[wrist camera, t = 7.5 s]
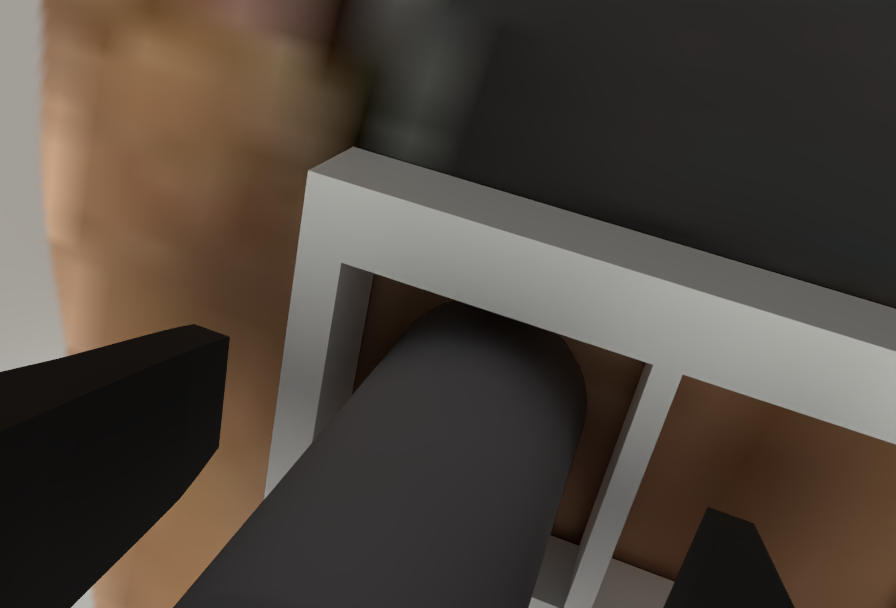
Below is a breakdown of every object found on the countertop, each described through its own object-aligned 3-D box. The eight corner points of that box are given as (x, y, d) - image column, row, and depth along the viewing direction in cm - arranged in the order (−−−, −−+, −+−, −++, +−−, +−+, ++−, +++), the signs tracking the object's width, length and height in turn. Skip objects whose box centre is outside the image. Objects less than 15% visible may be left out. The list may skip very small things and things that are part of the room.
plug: (557, 505, 14) (431, 919, 8) (377, 441, 15) (135, 780, 9) (611, 336, 13) (506, 687, 7) (409, 274, 14) (145, 541, 7)
